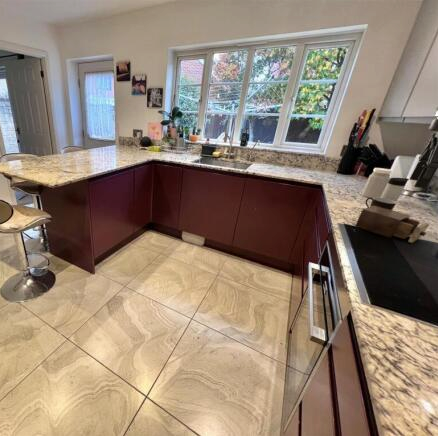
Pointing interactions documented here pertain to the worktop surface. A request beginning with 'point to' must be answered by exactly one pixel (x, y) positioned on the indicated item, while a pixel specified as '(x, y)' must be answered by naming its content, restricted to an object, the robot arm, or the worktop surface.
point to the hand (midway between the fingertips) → (417, 183)
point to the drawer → (410, 229)
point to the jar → (376, 183)
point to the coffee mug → (382, 203)
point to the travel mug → (394, 188)
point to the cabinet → (380, 220)
